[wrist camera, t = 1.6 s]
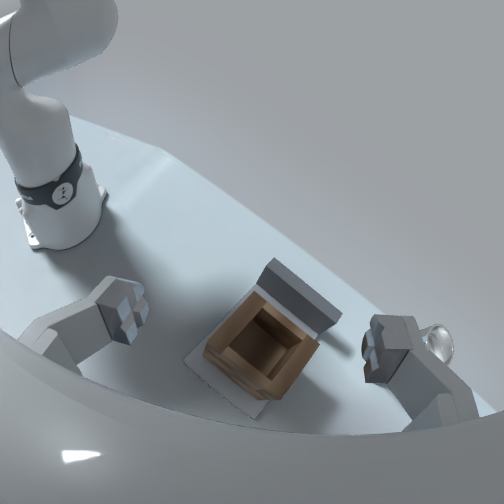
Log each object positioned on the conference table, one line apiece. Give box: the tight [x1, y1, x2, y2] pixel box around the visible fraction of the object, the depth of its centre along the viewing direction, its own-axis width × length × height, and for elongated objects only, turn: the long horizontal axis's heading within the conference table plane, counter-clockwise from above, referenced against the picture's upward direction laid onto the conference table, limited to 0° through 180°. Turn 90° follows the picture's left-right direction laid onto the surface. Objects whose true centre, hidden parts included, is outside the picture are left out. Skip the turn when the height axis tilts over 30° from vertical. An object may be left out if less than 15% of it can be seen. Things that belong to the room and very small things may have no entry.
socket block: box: [203, 291, 320, 400], centre depth 33 cm, size 10×8×10 cm
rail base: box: [183, 258, 343, 419], centre depth 37 cm, size 13×19×7 cm
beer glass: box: [375, 324, 454, 384], centre depth 35 cm, size 7×7×15 cm
